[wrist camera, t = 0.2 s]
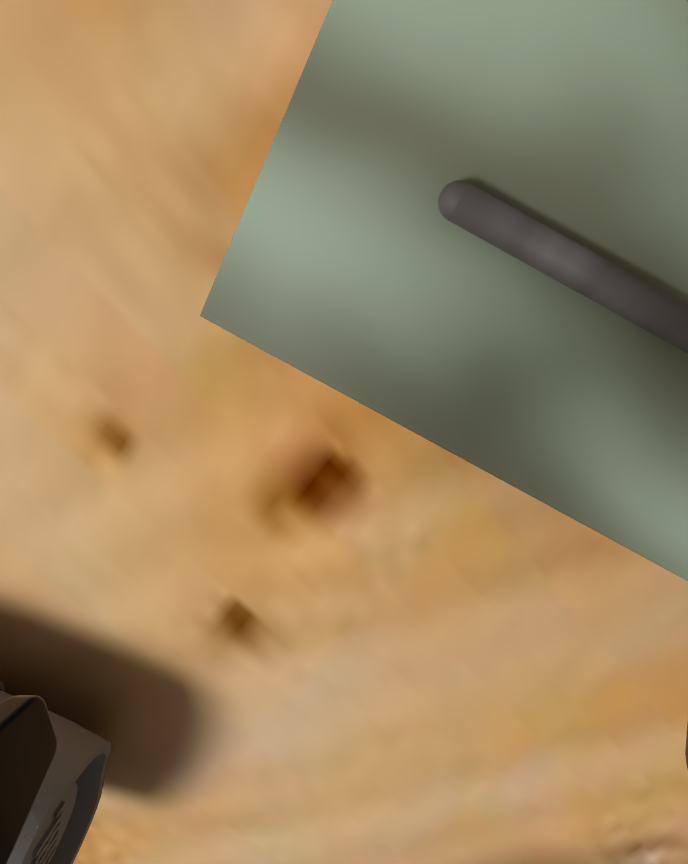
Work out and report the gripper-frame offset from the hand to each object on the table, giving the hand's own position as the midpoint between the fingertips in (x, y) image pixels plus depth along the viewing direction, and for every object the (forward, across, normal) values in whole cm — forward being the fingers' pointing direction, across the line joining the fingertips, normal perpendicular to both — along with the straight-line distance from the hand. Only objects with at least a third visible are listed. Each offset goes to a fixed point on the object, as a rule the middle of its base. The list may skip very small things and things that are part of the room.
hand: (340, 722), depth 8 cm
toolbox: (+15, -9, -2) cm, 18 cm away
